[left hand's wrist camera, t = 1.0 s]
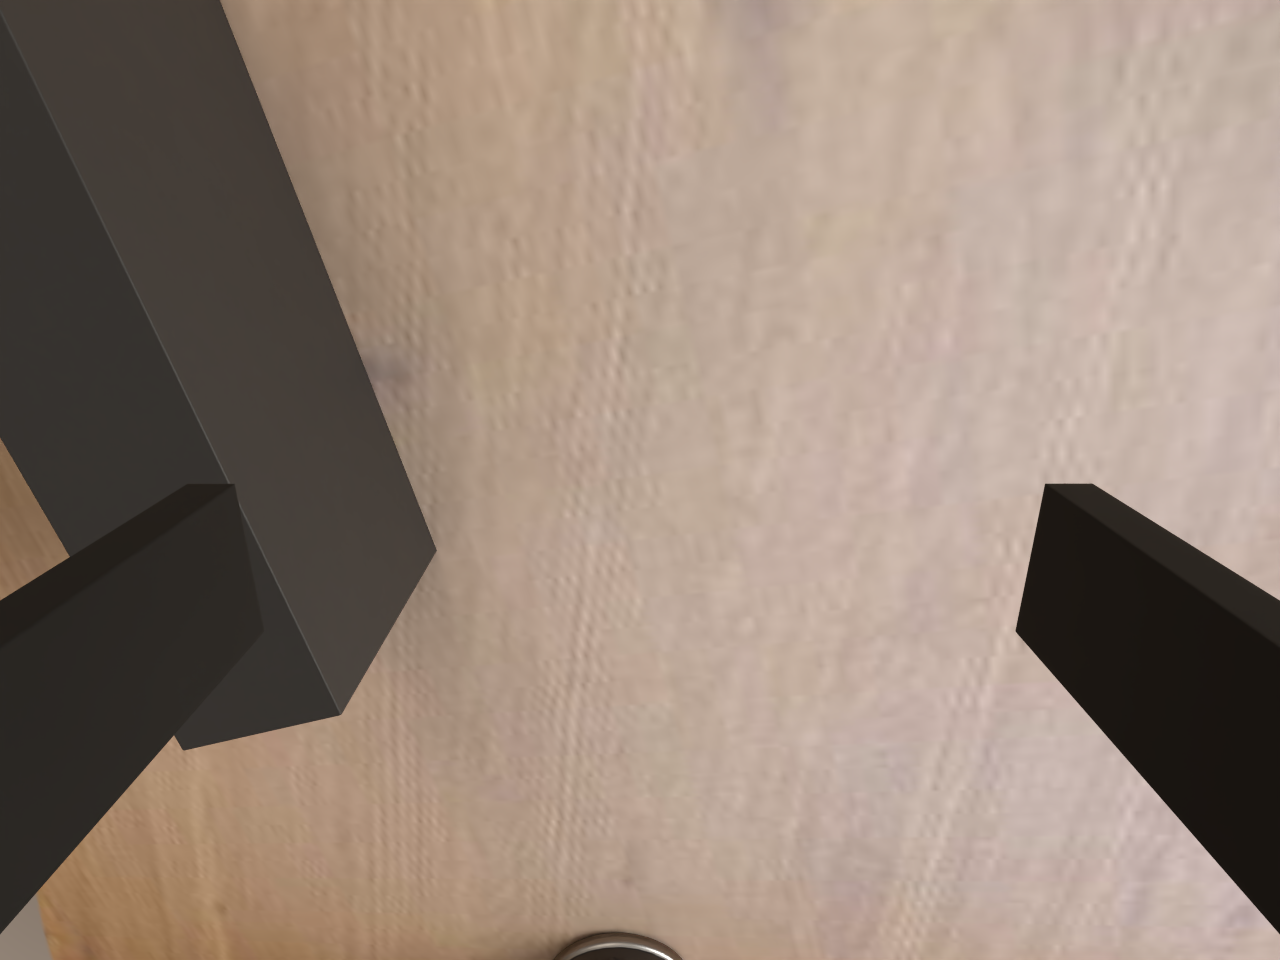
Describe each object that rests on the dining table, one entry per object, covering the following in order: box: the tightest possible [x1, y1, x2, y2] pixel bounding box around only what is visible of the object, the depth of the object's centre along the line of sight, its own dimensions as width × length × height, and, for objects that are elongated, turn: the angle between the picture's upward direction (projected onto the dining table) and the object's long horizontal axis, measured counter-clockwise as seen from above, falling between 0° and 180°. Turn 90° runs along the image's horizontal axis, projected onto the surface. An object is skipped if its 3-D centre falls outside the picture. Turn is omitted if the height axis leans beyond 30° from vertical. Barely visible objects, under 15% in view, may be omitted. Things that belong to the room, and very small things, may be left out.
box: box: [0, 0, 436, 750], centre depth 27 cm, size 26×6×13 cm, turn 15°
